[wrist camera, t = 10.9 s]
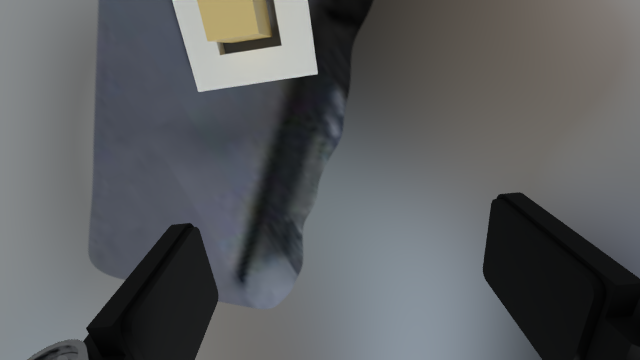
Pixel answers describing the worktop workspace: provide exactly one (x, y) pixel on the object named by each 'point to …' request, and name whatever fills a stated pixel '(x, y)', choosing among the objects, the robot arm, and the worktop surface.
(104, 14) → the worktop surface
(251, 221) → the worktop surface
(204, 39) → the socket housing
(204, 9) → the plug block
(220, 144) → the worktop surface
